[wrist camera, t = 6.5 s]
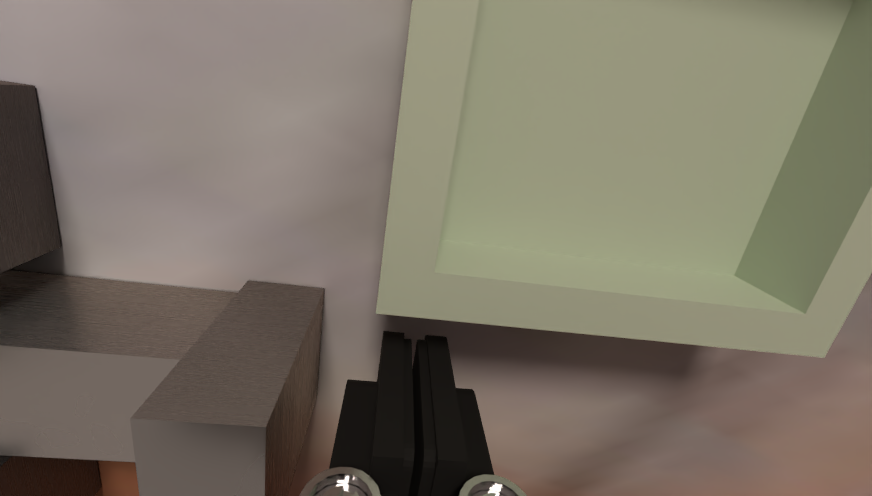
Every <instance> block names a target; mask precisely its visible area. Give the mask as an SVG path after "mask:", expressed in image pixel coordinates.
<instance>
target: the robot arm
mask: <svg viewBox="0 0 872 496" xmlns="http://www.w3.org/2000/svg"><path fill="white" fill-rule="evenodd" d="M300 496H527V495H526V494H525V493H524V492H523V491H522V490H521V489H520V488H519V487H518V486H517V485H516V484H514V483H512V482H511V481H509V480H508V479H506V478H503V477H500V476H497V475H494V472H493V468H492V464H491V460H490V455H489V451H488V447H487V443H486V439H485V434H484V430H483V426H482V422H481V417H480V413H479V409H478V405H477V401H476V396H475V393H474V391H473V390H472V389H461V388H455V382H454V376H453V370H452V365H451V359H450V353H449V348H448V342H447V337H443V336H432V335H426V336H425V340H417V344H416V350H415V356H414V363H413V369H412V340H411V339H405V338H404V333H400V332H389V331H384V332H383V340H382V348H381V356H380V363H379V371H378V379H377V382H372V381H359V380H347V384H346V389H345V394H344V399H343V404H342V409H341V414H340V418H339V423H338V428H337V433H336V438H335V443H334V448H333V453H332V458H331V463H330V468H329V469H327V470H325V471H323V472H321V473H319V474H317V475H316V476H315V477H314V478H312V479H311V480H310V481H309V482H308V483H307V484H306V486H305V487H304V489H303V490H302V492H301V494H300Z"/></svg>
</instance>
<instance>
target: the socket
mask: <svg viewBox="0 0 872 496" xmlns="http://www.w3.org/2000/svg"><path fill="white" fill-rule="evenodd" d="M59 247H61V241H60V235H59V229H58V223H57V217H56V211H55V205H54V199H53V193H52V187H51V181H50V175H49V169H48V163H47V157H46V151H45V145H44V139H43V133H42V127H41V121H40V115H39V109H38V103H37V97H36V91H35V86H33V85H26V84H20V83H13V82H6V81H0V273H2V272H4V271H6V270H9V269H11V268H13V267H16V266H18V265H20V264H23V263H25V262H27V261H29V260H32V259H34V258H36V257H39V256H41V255H43V254H46V253H48V252H50V251H53V250H55V249H57V248H59ZM100 488H101V482H100V476H99V470H98V464H97V460H84V459H65V458H45V457H26V456H6V455H0V496H94V495H95V494H96V493H97V492H98V490H99V489H100Z"/></svg>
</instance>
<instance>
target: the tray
mask: <svg viewBox="0 0 872 496" xmlns="http://www.w3.org/2000/svg"><path fill="white" fill-rule="evenodd" d="M871 273H872V0H412V8H411V16H410V25H409V33H408V42H407V51H406V59H405V68H404V76H403V85H402V93H401V102H400V110H399V119H398V128H397V136H396V145H395V153H394V162H393V170H392V179H391V188H390V196H389V205H388V213H387V222H386V230H385V239H384V247H383V256H382V265H381V273H380V282H379V290H378V299H377V307H376V314H386V315H396V316H406V317H416V318H426V319H437V320H447V321H457V322H467V323H477V324H487V325H497V326H508V327H518V328H528V329H538V330H548V331H558V332H569V333H579V334H589V335H599V336H609V337H619V338H629V339H640V340H650V341H660V342H670V343H680V344H690V345H700V346H711V347H721V348H731V349H741V350H751V351H761V352H772V353H782V354H792V355H802V356H812V357H822V358H824V357H825V355H826V354H827V352H828V350H829V348H830V347H831V345H832V343H833V341H834V339H835V338H836V336H837V334H838V332H839V330H840V329H841V327H842V325H843V323H844V321H845V320H846V318H847V316H848V314H849V313H850V311H851V309H852V307H853V305H854V304H855V302H856V300H857V298H858V296H859V295H860V293H861V291H862V289H863V287H864V286H865V284H866V282H867V280H868V278H869V277H870V275H871Z"/></svg>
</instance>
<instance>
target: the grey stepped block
mask: <svg viewBox="0 0 872 496" xmlns="http://www.w3.org/2000/svg"><path fill="white" fill-rule="evenodd" d="M323 301H324V288H315V287H305V286H296V285H286V284H276V283H267V282H257V281H247V283H246V284H245V285H244V286H243V287H242V288H241V290H240V291H239V292H238V293H234V292H224V291H214V290H204V289H194V288H185V287H175V286H165V285H155V284H145V283H135V282H125V281H115V280H105V279H95V278H85V277H75V276H65V275H55V274H45V273H35V272H25V271H15V270H6V271H4V272H2V273H0V455H6V456H26V457H45V458H65V459H84V460H104V461H123V462H135V463H136V471H137V479H138V487H139V495H140V496H288V492H289V489H290V486H291V482H292V479H293V475H294V472H295V469H296V465H297V462H298V458H299V455H300V452H301V448H302V445H303V441H304V438H305V435H306V431H307V428H308V424H309V421H310V418H311V414H312V411H313V408H314V404H315V401H316V397H317V390H318V375H319V360H320V345H321V330H322V316H323Z"/></svg>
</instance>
